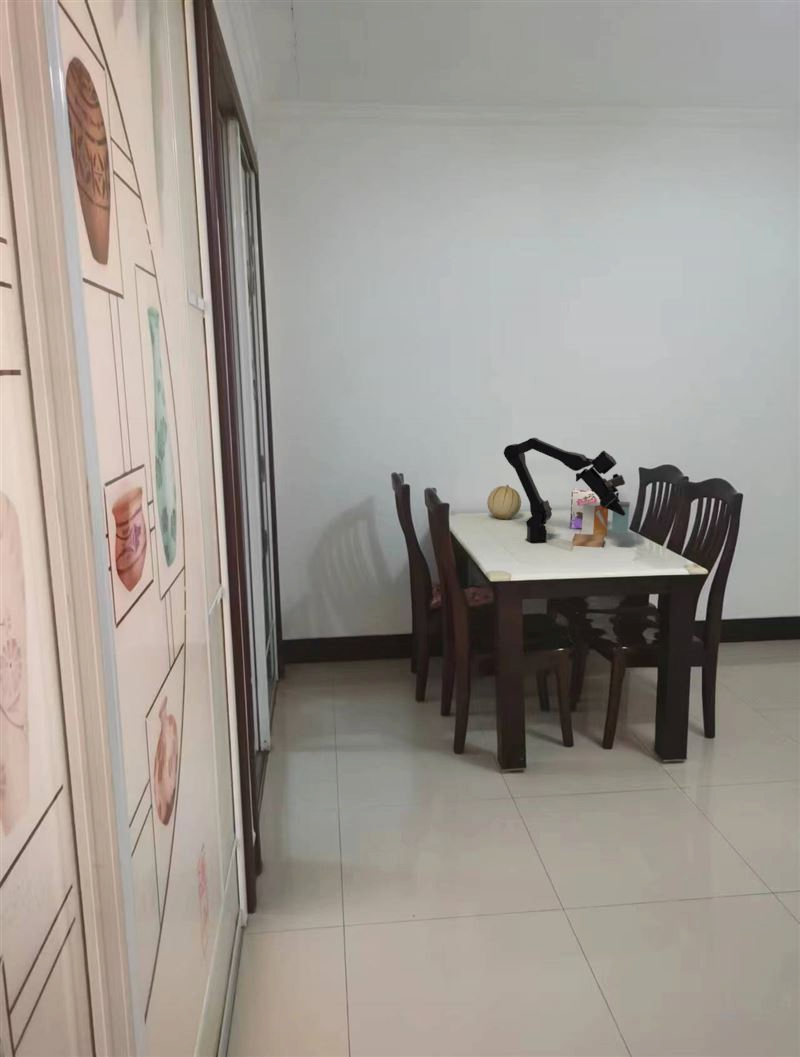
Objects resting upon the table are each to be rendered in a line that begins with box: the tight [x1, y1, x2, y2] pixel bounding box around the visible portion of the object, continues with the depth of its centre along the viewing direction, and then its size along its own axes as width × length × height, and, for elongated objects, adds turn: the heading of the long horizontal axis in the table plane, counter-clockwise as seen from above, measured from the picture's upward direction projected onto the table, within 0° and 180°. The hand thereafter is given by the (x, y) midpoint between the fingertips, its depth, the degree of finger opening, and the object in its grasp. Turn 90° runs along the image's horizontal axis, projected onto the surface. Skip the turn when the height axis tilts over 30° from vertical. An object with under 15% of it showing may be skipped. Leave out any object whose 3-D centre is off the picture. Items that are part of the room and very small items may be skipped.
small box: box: [581, 502, 609, 537], centre depth 315 cm, size 8×6×13 cm
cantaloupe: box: [487, 484, 522, 520], centre depth 351 cm, size 15×15×15 cm
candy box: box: [569, 487, 600, 530], centre depth 329 cm, size 14×6×16 cm, turn 68°
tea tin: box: [611, 501, 631, 534], centre depth 291 cm, size 6×6×10 cm
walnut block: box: [572, 533, 605, 548], centre depth 302 cm, size 11×11×3 cm
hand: (624, 513), depth 290 cm, fingers closed on tea tin, 5 cm apart
